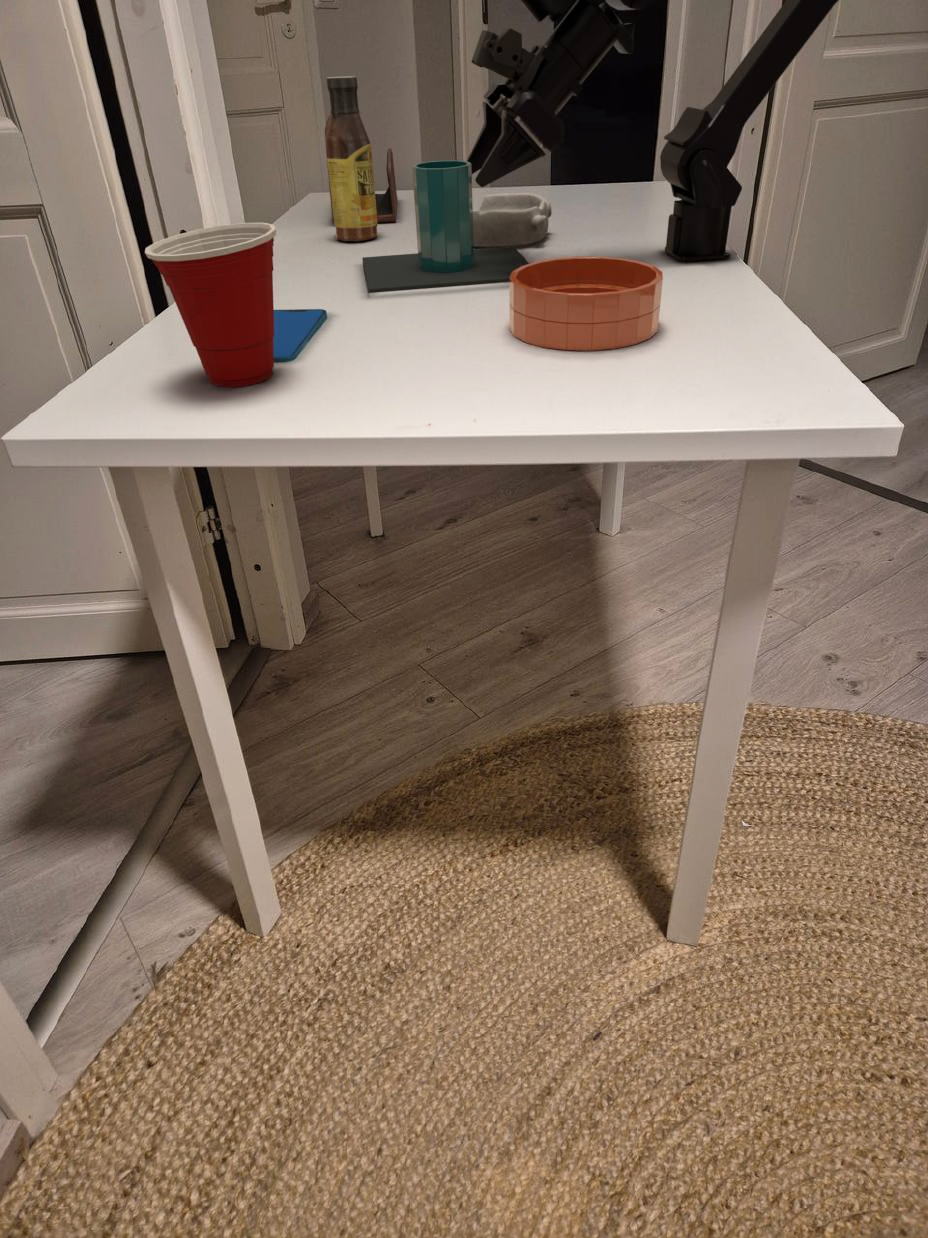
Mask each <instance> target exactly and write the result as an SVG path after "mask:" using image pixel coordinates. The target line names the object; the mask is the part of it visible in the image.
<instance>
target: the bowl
mask: <svg viewBox="0 0 928 1238" xmlns="http://www.w3.org/2000/svg"><path fill="white" fill-rule="evenodd" d="M663 274H664V273H663V271H662V270H660V269H659V268H658V267H656V266H655V265H652V264H649V263H646V262H643V261H640V260H634V259H628V258H622V257H612V256H611V257H610V256H609V257H608V256H568V257H557V258H556V257H555V258H549V259H544V260H543V259H542V260H537V261H534V262H531V263H529V264H527V265H524V266H521V267H519V268H518V269H516V270H514V271H513V272H512V273H511V275H510V278H509V282H508V284H509V285H508V286H509V330H510V332H511V334H512V336H513V337H514V338H517V339H519V340H521V341H522V342H524V343H526V344H530V345H534V346H536V347H541V348H545V349H552V350H560V351H561V350H562V351H578V352H579V351H580V352H581V351H585V352H586V351H587V352H591V351H593V352H594V351H602V350H603V351H604V350H614V349H620V348H625V347H629V346H634V345H638V344H640V343H643V342H645V341H648V340H650V339H651V338H652V337H653V336H655V334H656V333H657V332H658V331H659V320H660V311H661V299H662V293H663V292H662V291H663V282H664V281H663V280H664V276H663Z"/></svg>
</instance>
